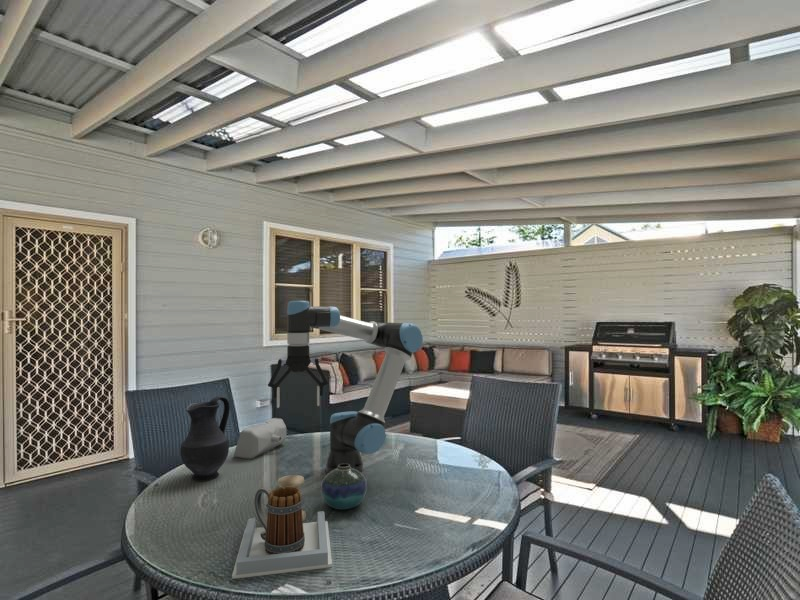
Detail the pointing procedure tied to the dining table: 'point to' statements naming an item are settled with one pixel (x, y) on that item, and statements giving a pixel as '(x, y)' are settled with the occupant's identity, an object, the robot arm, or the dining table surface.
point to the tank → (260, 439)
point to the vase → (343, 487)
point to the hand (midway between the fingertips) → (298, 406)
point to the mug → (281, 519)
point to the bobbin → (292, 484)
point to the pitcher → (206, 440)
